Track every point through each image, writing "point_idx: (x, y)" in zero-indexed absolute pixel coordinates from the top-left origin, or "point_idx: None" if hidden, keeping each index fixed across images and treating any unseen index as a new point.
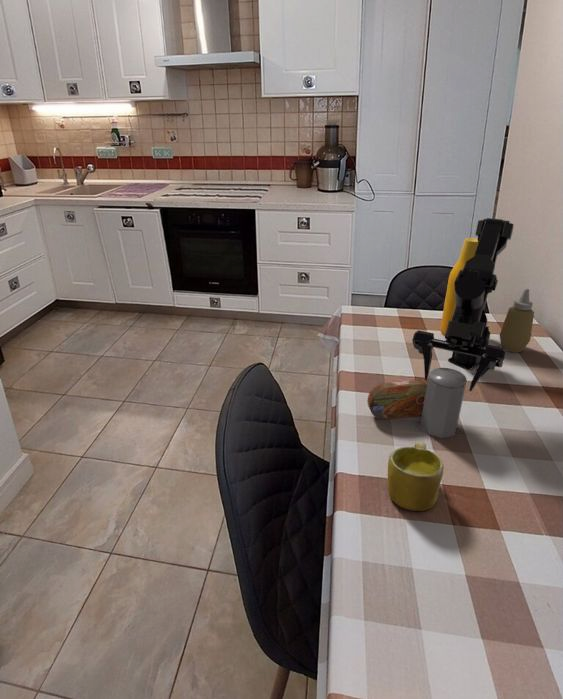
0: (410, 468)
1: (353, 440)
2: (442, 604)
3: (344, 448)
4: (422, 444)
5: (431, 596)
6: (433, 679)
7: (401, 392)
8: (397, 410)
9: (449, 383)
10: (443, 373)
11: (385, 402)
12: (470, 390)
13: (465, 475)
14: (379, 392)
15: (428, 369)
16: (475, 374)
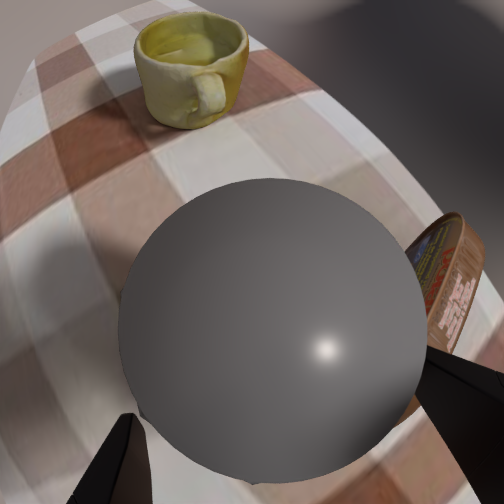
0: (203, 62)
1: (374, 160)
2: (114, 39)
3: (366, 133)
4: (203, 78)
5: (125, 38)
6: (115, 16)
7: (424, 296)
8: None
9: (221, 216)
10: (342, 343)
11: (424, 260)
12: (128, 413)
13: (110, 202)
14: (457, 227)
15: (447, 369)
16: (103, 501)
